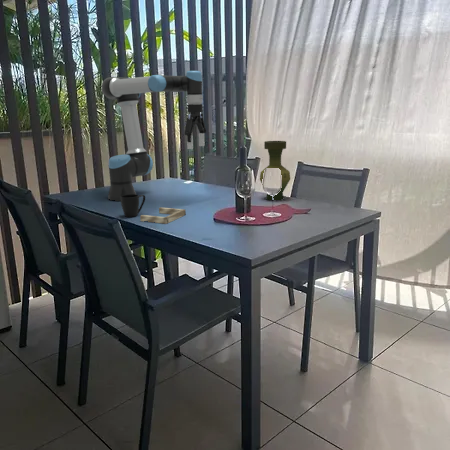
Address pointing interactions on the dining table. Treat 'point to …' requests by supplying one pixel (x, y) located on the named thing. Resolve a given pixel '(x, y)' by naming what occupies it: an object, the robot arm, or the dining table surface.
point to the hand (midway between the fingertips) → (196, 147)
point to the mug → (131, 204)
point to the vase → (276, 164)
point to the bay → (174, 215)
